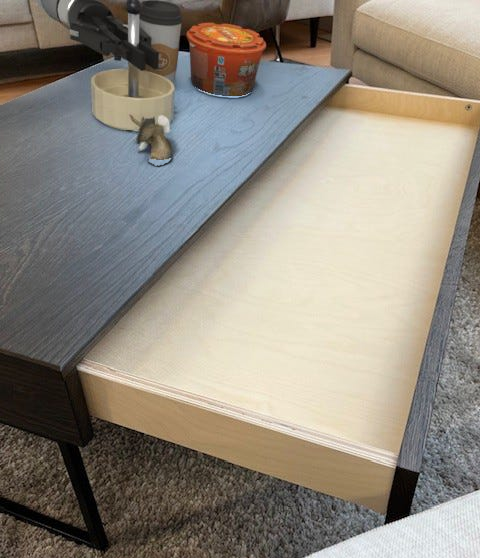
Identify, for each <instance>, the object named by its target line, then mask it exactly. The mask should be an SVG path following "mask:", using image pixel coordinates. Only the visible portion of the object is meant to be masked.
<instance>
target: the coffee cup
mask: <svg viewBox="0 0 480 558" xmlns="http://www.w3.org/2000/svg"><path fill="white" fill-rule="evenodd" d="M140 2H141V5H142V10H141V12H140V13H139V27H140V28H142V29H143V30H144V31H145V32H146V33H147V34H148V35H149V36H150V37H151V38H152V39H151V47H152V48H153V49H154V50H156V51H157V52H159V63H158V69H153V68H152V67H150V66H149V65H147V64H146V63H145V70H143V71H148V72H152V73H155V74H158V75H161V76H163V77H165V78H167V79H169V80H170V81H171V82H172V83H173V84H174V85H175V84H176V76H177V75H176V74H177V68H178V60H179V52H180V38H181V31H182V30H181V29H182V23H183V14H182V12H181V6H179V5H178V4H176V3H174V2H170V1H165V0H143V1H140Z"/></svg>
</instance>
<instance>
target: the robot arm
mask: <svg viewBox="0 0 480 558" xmlns="http://www.w3.org/2000/svg"><path fill="white" fill-rule="evenodd" d="M37 2H38V4H39V6H40V7H41V9H42V10H43V11H44V12H45V14H46V15H48V16H49V18H51V19H52V20H54V21H57V22H58V23H59V24H61V25H62V26H63V27H64V28H66V29H68V30H69V39H70V40H72V41H74V42H79V43H80V44H82V45H84V46H86V47H88V48H90V49H91V50H94V51H95V52H97V53H99V54H100V55H102V56H105V57H108V56H110V55H111V54H112V55H113V59H114V61H116V62H121V61H122V59H123V60H125V61H127V63H128V62H130V63H131V64H132V65H134V66H135V67H137V68H138V69H139V70H141V71H143V70H145V63H146V64H147V65H149V66H150V67H152V68H153V69H158V63H159V52H157V51H156V50H154V49H153V48H152V47H151V39H152V38H151V37H150V36H149V35H148V34H147V33H146V32H145V31H144V30H143V29H142V28H140V27H139V49H138V48H137V47H135V46H134V45H132V44H131V43H129V42H128V24H124V22H123V21H122V20H120V19H119V18H118V19H117V18H116V17H115V16H114V14H113V12H112V10H111V8H109V7H108V5H107V4H105V3H104V2H102V1H100V0H37Z"/></svg>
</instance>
